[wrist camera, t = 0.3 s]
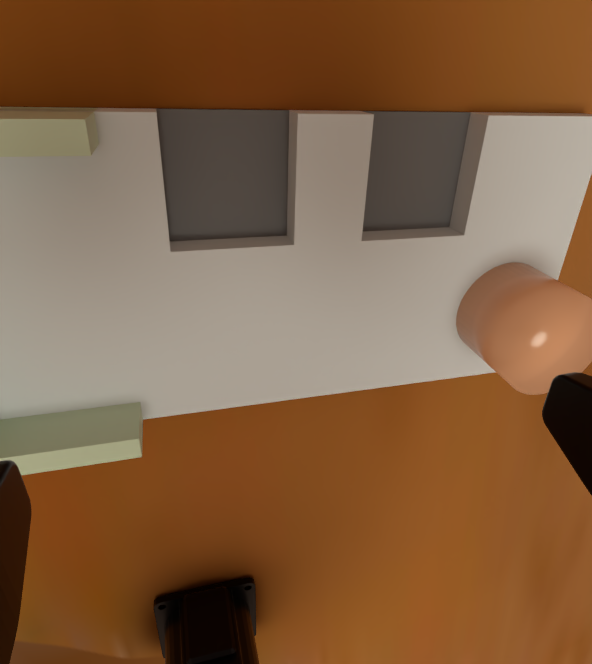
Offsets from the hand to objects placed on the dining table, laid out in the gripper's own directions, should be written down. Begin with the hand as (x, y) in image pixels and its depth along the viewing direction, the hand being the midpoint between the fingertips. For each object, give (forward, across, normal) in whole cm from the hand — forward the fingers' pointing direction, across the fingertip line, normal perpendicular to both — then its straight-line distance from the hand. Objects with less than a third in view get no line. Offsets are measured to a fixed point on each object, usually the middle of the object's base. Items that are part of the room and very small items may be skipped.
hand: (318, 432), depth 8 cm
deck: (+14, -3, +3) cm, 15 cm away
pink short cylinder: (+13, -14, +5) cm, 20 cm away
